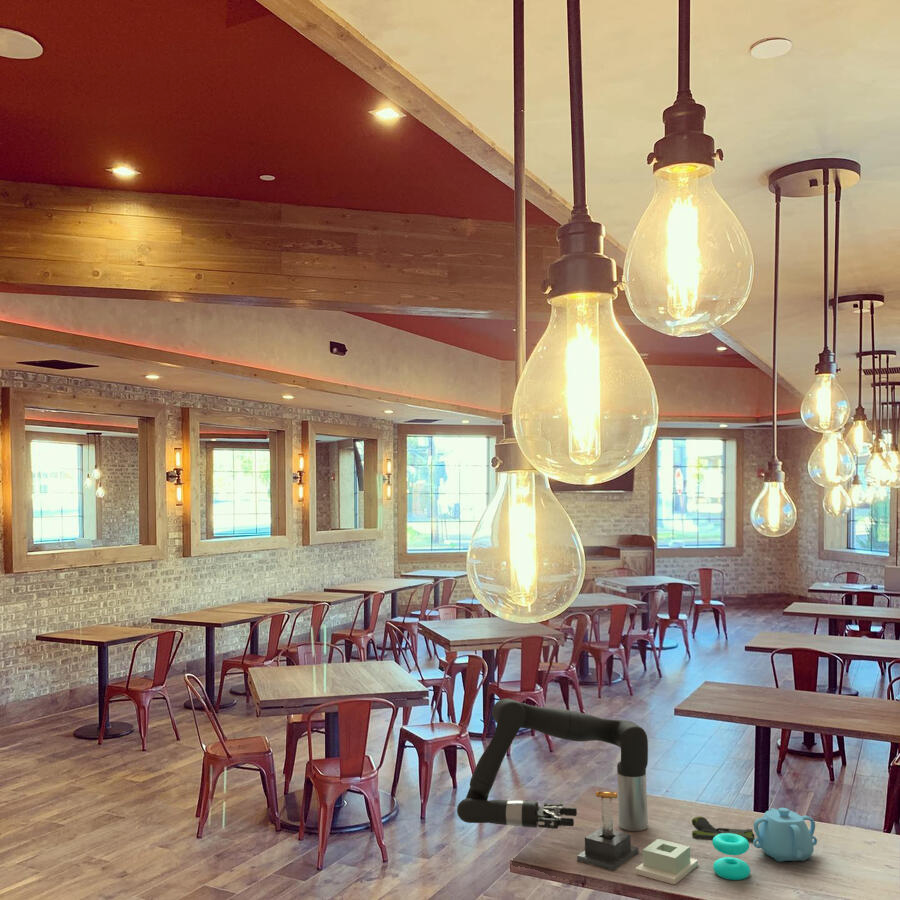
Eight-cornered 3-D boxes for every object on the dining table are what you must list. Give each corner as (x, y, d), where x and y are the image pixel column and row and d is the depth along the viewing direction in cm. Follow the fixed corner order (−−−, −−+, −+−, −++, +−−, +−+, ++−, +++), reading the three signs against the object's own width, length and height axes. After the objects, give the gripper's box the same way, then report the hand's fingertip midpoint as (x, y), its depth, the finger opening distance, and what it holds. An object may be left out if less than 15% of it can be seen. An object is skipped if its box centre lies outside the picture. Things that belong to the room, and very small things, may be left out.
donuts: (717, 829, 256) (752, 835, 250) (718, 864, 255) (753, 871, 250) (708, 840, 247) (744, 847, 242) (709, 876, 247) (745, 884, 241)
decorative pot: (825, 855, 260) (823, 809, 260) (799, 871, 249) (797, 823, 250) (773, 840, 272) (771, 796, 272) (746, 855, 261) (745, 808, 262)
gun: (749, 827, 284) (756, 846, 270) (689, 823, 288) (693, 841, 273) (749, 819, 284) (756, 838, 270) (689, 815, 288) (692, 833, 274)
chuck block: (603, 843, 272) (602, 823, 272) (638, 852, 264) (638, 832, 264) (577, 860, 259) (576, 840, 259) (613, 870, 252) (612, 849, 252)
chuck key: (596, 852, 261) (594, 793, 262) (597, 848, 264) (595, 789, 265) (618, 854, 259) (617, 794, 260) (619, 850, 262) (617, 791, 263)
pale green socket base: (659, 855, 262) (659, 834, 262) (698, 865, 254) (697, 844, 255) (635, 873, 249) (634, 852, 250) (674, 884, 242) (674, 862, 242)
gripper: (518, 809, 262) (572, 812, 258) (525, 793, 276) (577, 796, 272) (518, 834, 261) (573, 838, 257) (526, 817, 275) (577, 821, 271)
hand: (575, 817), depth 265 cm, fingers open, 8 cm apart
